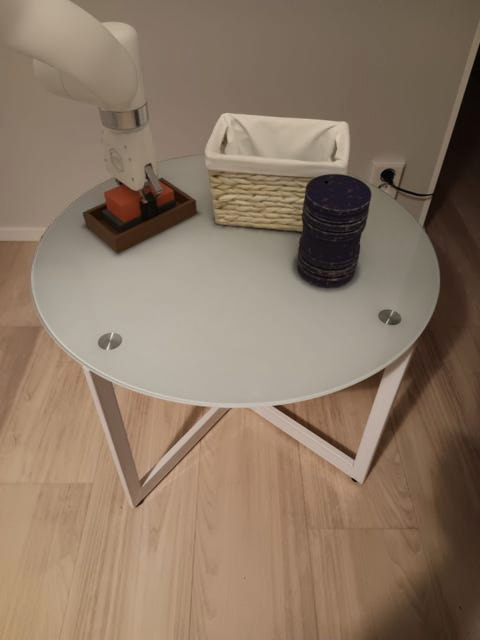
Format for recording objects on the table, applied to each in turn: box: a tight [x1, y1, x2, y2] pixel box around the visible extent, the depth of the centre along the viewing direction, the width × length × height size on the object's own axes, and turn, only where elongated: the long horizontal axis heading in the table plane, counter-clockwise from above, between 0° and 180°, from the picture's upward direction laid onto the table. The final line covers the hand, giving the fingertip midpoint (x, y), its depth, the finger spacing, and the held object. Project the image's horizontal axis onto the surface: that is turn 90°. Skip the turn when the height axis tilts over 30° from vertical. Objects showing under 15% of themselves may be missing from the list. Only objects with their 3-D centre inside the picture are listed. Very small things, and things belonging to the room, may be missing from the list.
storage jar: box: [296, 174, 373, 289], centre depth 80 cm, size 10×10×15 cm
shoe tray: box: [82, 177, 198, 254], centre depth 94 cm, size 18×11×3 cm, turn 132°
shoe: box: [102, 180, 176, 233], centre depth 91 cm, size 12×6×5 cm, turn 132°
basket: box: [203, 112, 351, 233], centre depth 92 cm, size 24×16×15 cm
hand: (139, 209), depth 93 cm, fingers closed on shoe, 6 cm apart
